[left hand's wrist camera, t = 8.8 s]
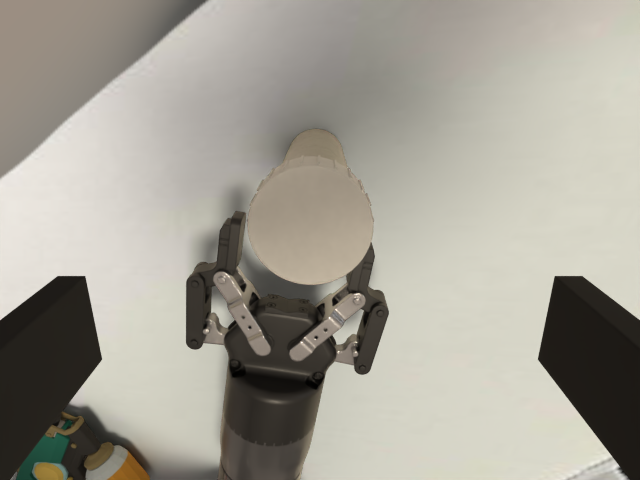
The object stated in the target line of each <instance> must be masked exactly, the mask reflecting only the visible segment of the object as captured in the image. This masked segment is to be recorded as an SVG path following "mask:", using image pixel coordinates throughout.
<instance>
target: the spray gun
mask: <svg viewBox="0 0 640 480" xmlns="http://www.w3.org/2000/svg"><path fill="white" fill-rule="evenodd" d="M66 418H67V419H69V420H67V421H66V422H65V419H66ZM71 420H72V421H74V422H75V423H73V424H72V422H71ZM85 455H88V456H87V458H86V460H85V462H84V460H83V459H84V456H85ZM17 472H18V474H17V477H16V480H150V476H149V475H148V474H147V473H146V471H145V470H144V469H143V468H142V467H141V466H140V464H139V463H138V462H137V461H136V460H135V458H134V457H133V456H132V455H131V454H130V453H129V451H128V450H126V449H125V448H123V447H121V446H120V445H117V446H113V445H112V443H110V442H106V443H103V444H100V442H99V441H98V439H97V438H96V436H95V435H94V434H93V432H92V431H91V429H90V428H89V427H88V425H87V424H86V422H84V418H83V417H82V416H78V417H74V416H72V415H70V414H67V413H65V412H61V414H60V415H59V416H58V418H57V419H56V420H55V421H54V423H53V424H52V425H51V427H50V428H49V429H48V431H47V432H46V433H45V435H44V436H43V437H42V438H41V440H40V441H39V442H38V444H37V445H36V446H35V448H34V449H33V450H32V451H31V453H30V454H29V455H28V457H27V458H26V459H25V461H24V462H23V463H22V465H21V466H20V467H19V468H18V470H17Z"/></svg>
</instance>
